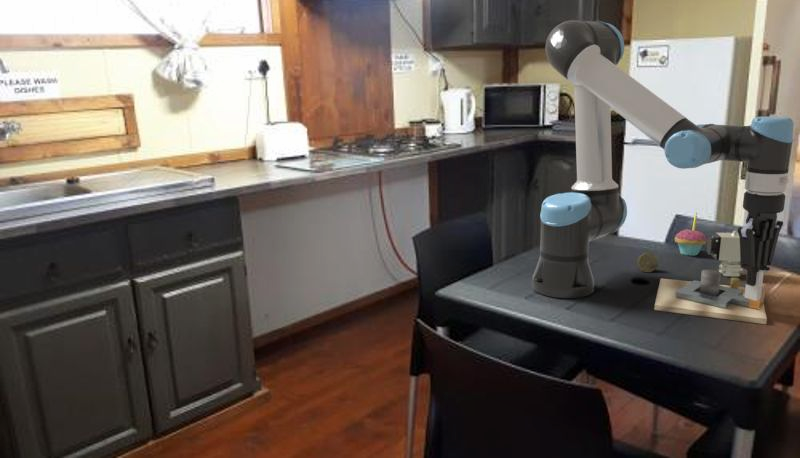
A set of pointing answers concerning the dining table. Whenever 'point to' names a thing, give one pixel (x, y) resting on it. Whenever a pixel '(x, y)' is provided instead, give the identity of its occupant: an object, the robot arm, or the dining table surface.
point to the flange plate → (722, 300)
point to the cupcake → (690, 240)
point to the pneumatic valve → (726, 252)
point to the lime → (647, 262)
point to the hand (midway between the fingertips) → (752, 298)
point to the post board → (709, 287)
